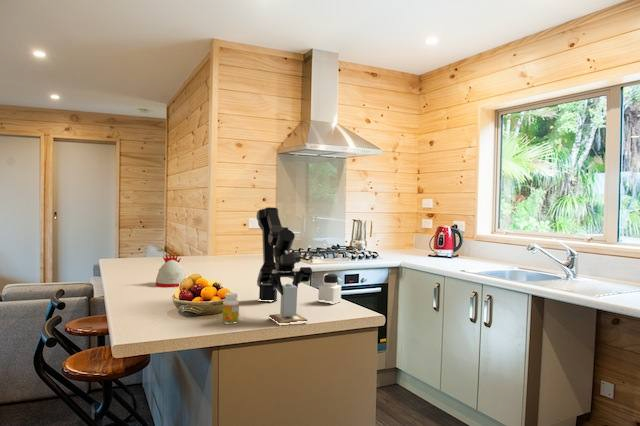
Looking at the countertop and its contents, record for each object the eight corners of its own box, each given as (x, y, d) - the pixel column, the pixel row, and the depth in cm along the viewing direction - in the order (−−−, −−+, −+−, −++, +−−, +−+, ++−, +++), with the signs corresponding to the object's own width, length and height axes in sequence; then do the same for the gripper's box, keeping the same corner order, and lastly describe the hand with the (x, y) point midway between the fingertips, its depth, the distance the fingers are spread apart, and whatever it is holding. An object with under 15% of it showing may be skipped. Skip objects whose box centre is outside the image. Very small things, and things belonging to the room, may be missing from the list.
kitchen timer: (154, 282, 224) (155, 251, 224) (183, 281, 230) (184, 251, 230) (157, 288, 212) (158, 255, 211) (188, 286, 217) (189, 254, 217)
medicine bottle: (340, 302, 197) (342, 274, 197) (332, 305, 191) (333, 276, 191) (326, 300, 201) (327, 272, 200) (317, 302, 194) (319, 274, 194)
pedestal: (279, 326, 155) (280, 321, 155) (269, 319, 164) (269, 314, 164) (306, 323, 160) (307, 319, 160) (295, 316, 168) (295, 312, 168)
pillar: (280, 313, 163) (281, 283, 163) (292, 312, 165) (293, 283, 164) (283, 316, 159) (284, 285, 159) (296, 315, 160) (297, 285, 160)
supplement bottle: (219, 321, 157) (220, 293, 157) (232, 319, 161) (233, 291, 161) (227, 325, 154) (229, 296, 153) (241, 322, 157) (242, 294, 157)
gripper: (261, 244, 163) (267, 281, 153) (312, 245, 169) (320, 280, 159) (256, 263, 170) (261, 300, 160) (304, 263, 177) (312, 298, 166)
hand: (289, 294), depth 161 cm, fingers closed on pillar, 4 cm apart
